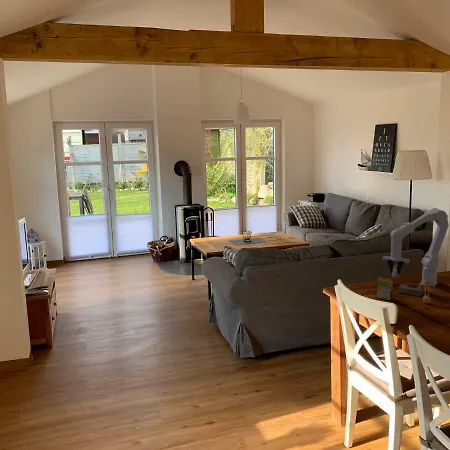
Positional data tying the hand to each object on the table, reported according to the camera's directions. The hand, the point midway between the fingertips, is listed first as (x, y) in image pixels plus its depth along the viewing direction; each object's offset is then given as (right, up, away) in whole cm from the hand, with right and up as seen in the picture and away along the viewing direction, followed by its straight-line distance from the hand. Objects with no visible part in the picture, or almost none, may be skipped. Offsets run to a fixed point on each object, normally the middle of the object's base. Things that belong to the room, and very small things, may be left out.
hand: (395, 273), depth 274 cm
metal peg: (0, -2, 0) cm, 2 cm away
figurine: (+5, -12, -30) cm, 33 cm away
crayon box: (-14, -11, -22) cm, 28 cm away
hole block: (+5, -9, -12) cm, 16 cm away
